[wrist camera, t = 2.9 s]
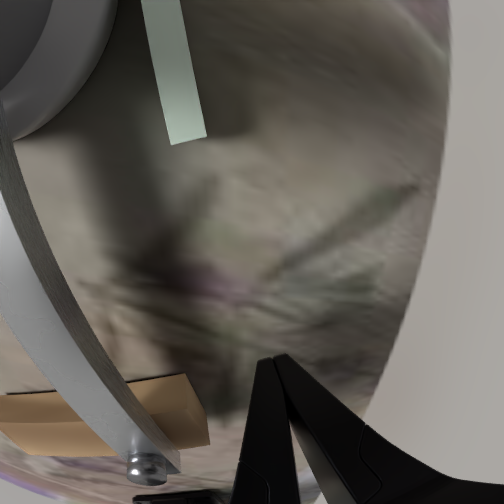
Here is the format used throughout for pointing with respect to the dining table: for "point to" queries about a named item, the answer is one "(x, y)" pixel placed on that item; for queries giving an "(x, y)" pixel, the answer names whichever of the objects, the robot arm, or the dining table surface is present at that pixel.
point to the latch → (68, 334)
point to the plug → (48, 55)
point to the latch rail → (83, 437)
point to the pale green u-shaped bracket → (173, 70)
